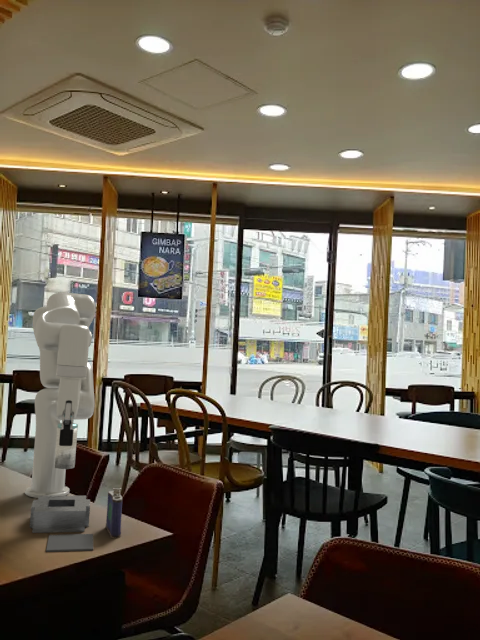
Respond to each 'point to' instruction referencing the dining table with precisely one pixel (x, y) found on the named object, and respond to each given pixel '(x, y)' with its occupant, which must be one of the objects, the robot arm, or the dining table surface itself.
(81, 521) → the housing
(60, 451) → the light piece
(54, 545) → the mat
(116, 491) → the flask
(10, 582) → the dining table surface
